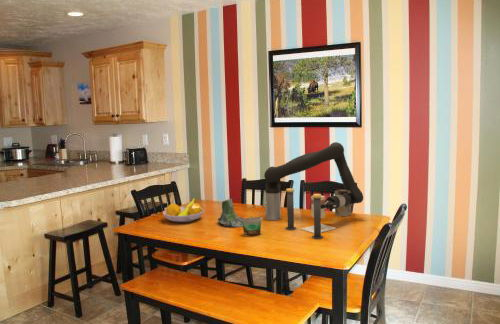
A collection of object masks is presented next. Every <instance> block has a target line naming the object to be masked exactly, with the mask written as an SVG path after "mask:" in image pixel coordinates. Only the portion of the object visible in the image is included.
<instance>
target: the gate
mask: <svg viewBox="0 0 500 324" xmlns="http://www.w3.org/2000/svg"><path fill="white" fill-rule="evenodd" d="M294 190H295V189H294V188H286V189H285V191H286V202H287V203H286V205H287V206H286V207H287V208H286V210H287V213H286V215H287V226H286V227H285V230H286V231H295V229H296V230H297V227H295V220H294V219H295V218H294V217H295V215H294V213H295V211H294V207H295V206H294V204H295V203H294V192H295V191H294ZM312 196H313V198H314V217H313V226H314V234H313V235H312V236H311V239H313V238H314V239H313V240H323V239H324V235H322V233H321V224H322V222H321V220H322V218H321V196H322V194H321V193H313V194H312ZM322 238H323V239H322Z"/></svg>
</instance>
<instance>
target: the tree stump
mask: <svg viewBox="0 0 500 324" xmlns="http://www.w3.org/2000/svg"><path fill="white" fill-rule="evenodd" d="M234 207H235V205H234V203H233V198H229V199H228V198H227V199H224V200H223V201H222V203H221V214H220V217H219V218H217V221H218V222H219V223H220V224H221V225H223V226H224V227H226V228H234V229H235V228H243V224H242V221H241V218H243V217H240V216H239V215H238V214H237V213H236V212H235V208H234Z"/></svg>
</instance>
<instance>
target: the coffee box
mask: <svg viewBox="0 0 500 324" xmlns="http://www.w3.org/2000/svg"><path fill="white" fill-rule="evenodd" d="M347 193H351V191H350V190H346V189H336V190H334V196H335V195H342V194H347ZM351 206H352V204H349V205H346V206H342V207H340V208H336V209H334V215H335V216H342V217H350V216H351V213H352V208H351ZM349 215H350V216H349Z"/></svg>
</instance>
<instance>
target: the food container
mask: <svg viewBox="0 0 500 324" xmlns="http://www.w3.org/2000/svg"><path fill="white" fill-rule="evenodd" d="M241 221H242V224H243V227H242V228H243V235H244V236H247V237H257V236H259V235H261V228H262V221H263V217H262V215H260V216H258V217H254V216H252V217H251V216H250V217H247V218H244V217H242V218H241Z"/></svg>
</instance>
